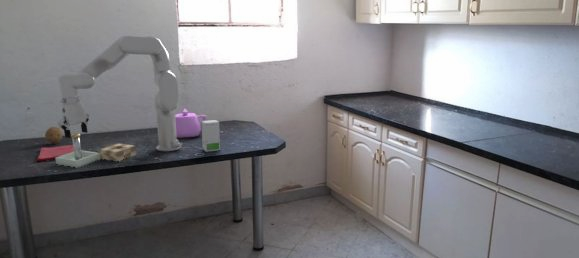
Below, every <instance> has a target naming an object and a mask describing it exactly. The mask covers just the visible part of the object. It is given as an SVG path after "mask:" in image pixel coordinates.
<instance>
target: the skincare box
mask: <svg viewBox="0 0 579 258" xmlns="http://www.w3.org/2000/svg"><path fill="white" fill-rule="evenodd" d="M201 123H202V127H201V140H202V141H201V145H202V150H203V151H204V152H207V153H208V152H215V151H220V150H221V138H220V137H221V136H220V133H221V131H220V121H218V120H216V119H213V120H211V119H210V120H206V121H202V120H201ZM201 123H200V124H201Z"/></svg>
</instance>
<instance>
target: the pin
mask: <svg viewBox="0 0 579 258" xmlns="http://www.w3.org/2000/svg"><path fill="white" fill-rule="evenodd" d="M70 139H72V145H73V148H74V155H75V160H79V159H82V153H81V150H82V147H81V133H80V132H76V133H71V138H70Z"/></svg>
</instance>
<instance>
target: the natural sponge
mask: <svg viewBox="0 0 579 258" xmlns="http://www.w3.org/2000/svg"><path fill="white" fill-rule="evenodd" d="M62 130H63V129H62V128H60V127H56V126H52V127H49V128H48V129H47V130H46V131H45V134H44V137H45V139H46V141H48V142H49V143H51V144H53V145H57V144H58V143H60V142H61V140H62V139H63V134H64V131H62Z"/></svg>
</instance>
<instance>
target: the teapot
mask: <svg viewBox="0 0 579 258" xmlns="http://www.w3.org/2000/svg"><path fill="white" fill-rule="evenodd" d="M199 118H200V119H201V118H202V120H201V121H207V119H208V117H207V115H205V114H201V115H197V114H196V113H194V112H189V111H188V109H187V108H184V109H183V111H181V113H175V121H176V134H177V139H183V138H196V137H198V136H199V135H200V133H202V123H200V119H199Z"/></svg>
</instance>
